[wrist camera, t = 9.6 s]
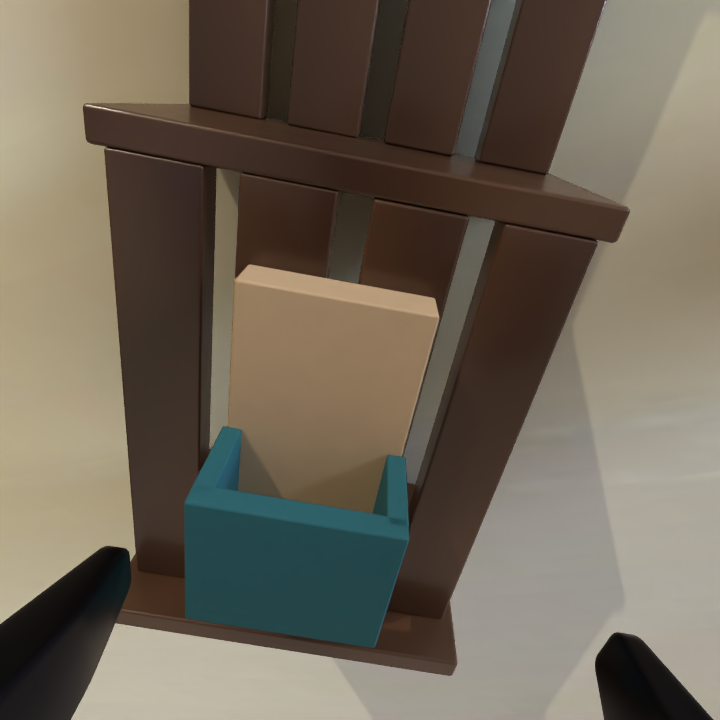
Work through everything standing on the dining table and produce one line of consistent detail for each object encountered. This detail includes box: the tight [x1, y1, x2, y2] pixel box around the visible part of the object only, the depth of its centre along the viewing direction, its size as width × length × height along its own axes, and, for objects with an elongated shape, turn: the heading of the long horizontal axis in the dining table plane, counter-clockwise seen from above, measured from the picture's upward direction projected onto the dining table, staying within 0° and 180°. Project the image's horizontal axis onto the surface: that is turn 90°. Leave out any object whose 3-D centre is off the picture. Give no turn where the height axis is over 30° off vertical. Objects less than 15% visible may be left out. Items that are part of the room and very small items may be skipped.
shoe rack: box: [83, 0, 630, 676], centre depth 13 cm, size 12×31×8 cm, turn 170°
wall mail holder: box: [184, 264, 439, 648], centre depth 12 cm, size 5×10×4 cm, turn 170°
